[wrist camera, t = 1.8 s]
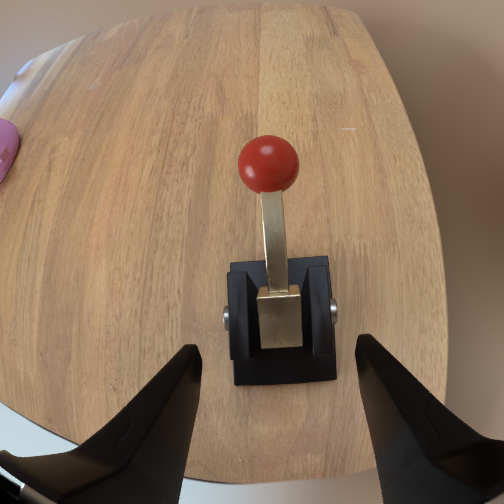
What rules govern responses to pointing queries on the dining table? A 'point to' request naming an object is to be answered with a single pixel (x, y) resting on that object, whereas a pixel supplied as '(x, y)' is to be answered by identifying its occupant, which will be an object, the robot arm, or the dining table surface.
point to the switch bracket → (313, 322)
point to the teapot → (7, 146)
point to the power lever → (274, 238)
